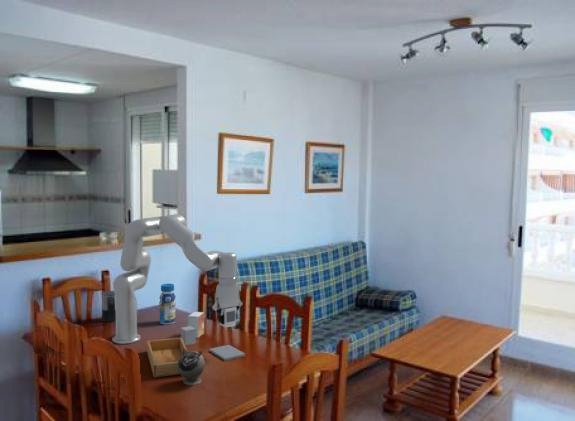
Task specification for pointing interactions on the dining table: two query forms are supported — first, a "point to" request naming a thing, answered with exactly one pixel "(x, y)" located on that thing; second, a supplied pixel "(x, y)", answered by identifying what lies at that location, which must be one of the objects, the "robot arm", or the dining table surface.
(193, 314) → the small box
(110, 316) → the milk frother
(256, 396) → the dining table surface
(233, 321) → the label box
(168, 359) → the tray
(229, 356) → the grey mat
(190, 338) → the grey block
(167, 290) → the beverage bottle
